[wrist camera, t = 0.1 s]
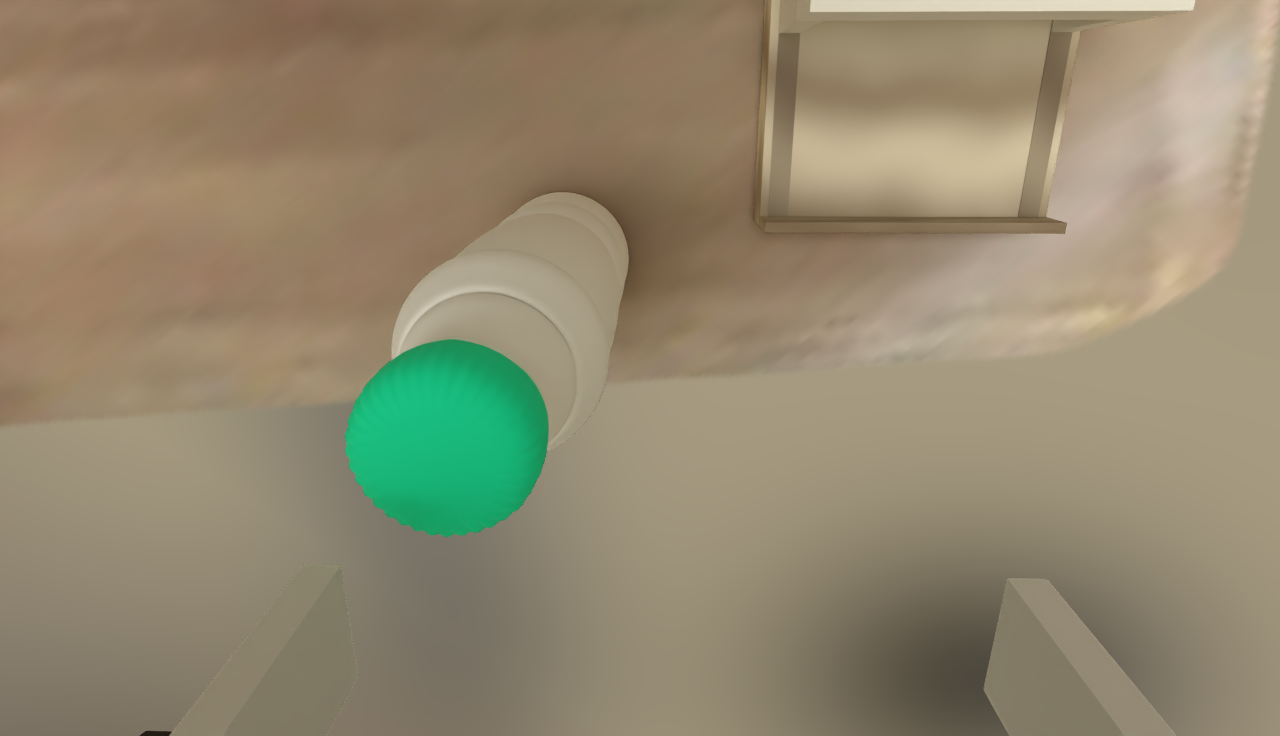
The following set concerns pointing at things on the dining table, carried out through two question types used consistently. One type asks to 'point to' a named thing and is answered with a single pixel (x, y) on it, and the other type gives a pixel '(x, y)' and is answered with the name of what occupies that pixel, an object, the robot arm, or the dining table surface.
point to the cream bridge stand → (978, 11)
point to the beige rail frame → (910, 125)
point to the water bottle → (492, 368)
